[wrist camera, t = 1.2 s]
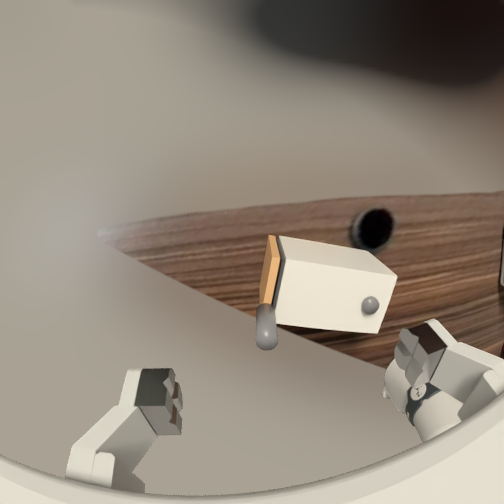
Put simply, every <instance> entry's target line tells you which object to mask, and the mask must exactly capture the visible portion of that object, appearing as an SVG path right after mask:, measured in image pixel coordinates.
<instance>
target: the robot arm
mask: <svg viewBox="0 0 504 504" xmlns="http://www.w3.org/2000/svg"><path fill="white" fill-rule="evenodd" d="M399 338H400V339H401V341H400V342H399V343H398V344H397V345H396V348H395V352H394V353H395V359H394V360H393V361H392V362H391V363H390V365H389V366H388V368H387V370H386V372H385V375H384V388H383V390H382V396H383V397H384V398H389V399H391V400H392V402H393V404H394V405H395V407H396V409H397V410H398V412H402V413H406V415H407V417H408V419H409V421H410V422H411V424H412V425H413V426H415V427H416V429H417V431H418V433H419V435H420V437H421V440H422V442H423V443H421V444H419V445H417V446H415V447H413V448H411V449H408V450H406V451H404V452H402V453H399V454H397V455H394V456H392V457H390V458H387V459H385V460H382V461H379V462H377V463H375V464H371V465H368V466H366V467H363V468H360V469H357V470H354V471H351V472H347V473H345V474H341V475H338V476H334V477H330V478H326V479H322V480H318V481H315V482H310V483H306V484H301V485H296V486H291V487H285V488H280V489H273V490H267V491H259V492H251V493H241V494H228V495H205V496H204V495H203V496H185V495H183V496H182V495H162V494H149V493H145V484H144V483H143V481H142V480H141V479H139V478H138V477H137V476H136V475H135V474H133V473H132V471H133V470H134V469H135V467H136V466H137V465H138V463H139V462H140V461H141V459H142V458H143V456H144V455H145V454H146V452H147V451H148V449H149V448H150V447H151V445H152V444H153V442H154V441H155V440H156V438H157V435H181V429H182V418H181V416H180V414H179V412H180V411H181V409H182V407H183V401H182V392H181V388H180V385H179V383H177V382H175V373H174V371H173V369H172V368H155V369H154V368H153V369H129V370H128V372H127V374H126V378H125V382H124V386H123V389H122V394H121V398H120V402H119V406H114V407H113V408H112V409H111V410H110V411H109V412H108V413H107V414H106V415H105V416H103V417H102V419H100V420H99V421H98V422H97V423H96V424H95V425H94V426H93V427H92V428H91V429H90V430H89V431H88V432H87V433H86V434H84V436H82V437H81V438H80V439H79V440H78V441H77V442H76V443H75V444H74V445H73V446H72V449H71V453H70V457H69V461H68V466H67V470H66V475H65V478H63V477H59V476H56V475H52V474H49V473H46V472H43V471H40V470H37V469H35V468H32V467H29V466H27V465H24V464H21V463H19V462H17V461H14V460H12V459H9V458H7V457H5V456H3V455H0V504H504V359H502V358H499V357H497V356H494V355H492V354H489V353H487V352H484V351H482V350H479V349H477V348H474V347H472V346H469V345H467V344H464V343H462V342H459V343H457V341H456V340H455V339H454V338H453V337H452V336H451V335H450V334H449V333H448V332H447V330H446V329H445V328H444V327H443V326H442V325H441V324H440V323H439V322H438V321H437V320H435V319H431V320H428V321H425V322H423V323H419V324H416V325H413V326H410V327H406V328H403V329H402V331H401V332H400V335H399Z"/></svg>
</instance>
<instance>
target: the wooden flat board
mask: <svg viewBox="0 0 504 504" xmlns="http://www.w3.org/2000/svg"><path fill="white" fill-rule="evenodd" d="M279 263H280V255H279V251H278V246H277V242H276V238H275V236H273V235H269V236H268V242H267V247H266V253H265V258H264V264H263V269H262V275H261V280H260V305H259V306H258V307H257V310H256V345H257V346H258V347H259V348H260V349H262V350H271V349H274V348H275V347H276V346H277V344H278V336H277V326H276V317H275V309H274V307H273V306H272V305H271V302H272V297H273V292H274V287H275V282H276V278H277V273H278V268H279Z"/></svg>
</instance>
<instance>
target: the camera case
mask: <svg viewBox="0 0 504 504" xmlns="http://www.w3.org/2000/svg"><path fill="white" fill-rule="evenodd" d="M276 242H277V246H278V251H279V255H280V263H279V268H278V273H277V278H276V282H275V287H274V292H273V297H272V302H271V305H272V306H273V307H274V309H275V317H276V324H284V325H292V326H300V327H309V328H318V329H328V330H338V331H350V332H363V333H378V330H379V328H380V325H381V323H382V320H383V317H384V315H385V312H386V309H387V306H388V304H389V301H390V298H391V295H392V292H393V289H394V286H395V283H396V280H397V275H395V274H394V273H393V272H392V271H391V270H390V269H388V268H387V267H386V266H385V265H384V264H383V263H381V262H380V261H379V260H378V259H377V258H375V257H374V256H373V255H372V254H371V253H369V252H368V251H365V250H359V249H354V248H348V247H342V246H337V245H331V244H325V243H320V242H314V241H308V240H302V239H296V238H290V237H284V236H279V239H278V238H276Z"/></svg>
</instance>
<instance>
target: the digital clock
mask: <svg viewBox="0 0 504 504" xmlns="http://www.w3.org/2000/svg"><path fill="white" fill-rule="evenodd" d="M500 284H501V285H502V286H504V241H503V254H502V264H501V278H500Z"/></svg>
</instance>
